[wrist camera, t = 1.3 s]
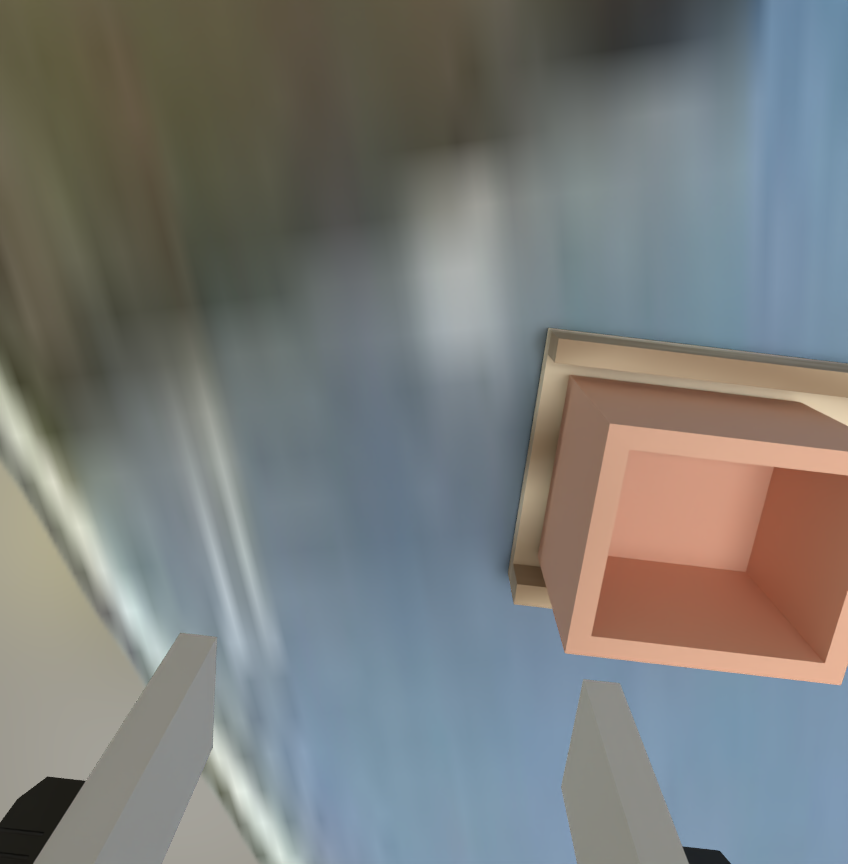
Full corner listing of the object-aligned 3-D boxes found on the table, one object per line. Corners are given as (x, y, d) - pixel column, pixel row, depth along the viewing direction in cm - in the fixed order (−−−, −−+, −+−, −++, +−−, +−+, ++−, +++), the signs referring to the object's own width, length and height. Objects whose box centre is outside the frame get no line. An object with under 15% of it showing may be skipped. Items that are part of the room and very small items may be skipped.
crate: (569, 374, 31) (609, 423, 24) (800, 402, 31) (913, 459, 24) (537, 556, 33) (564, 653, 26) (752, 581, 34) (840, 685, 26)
